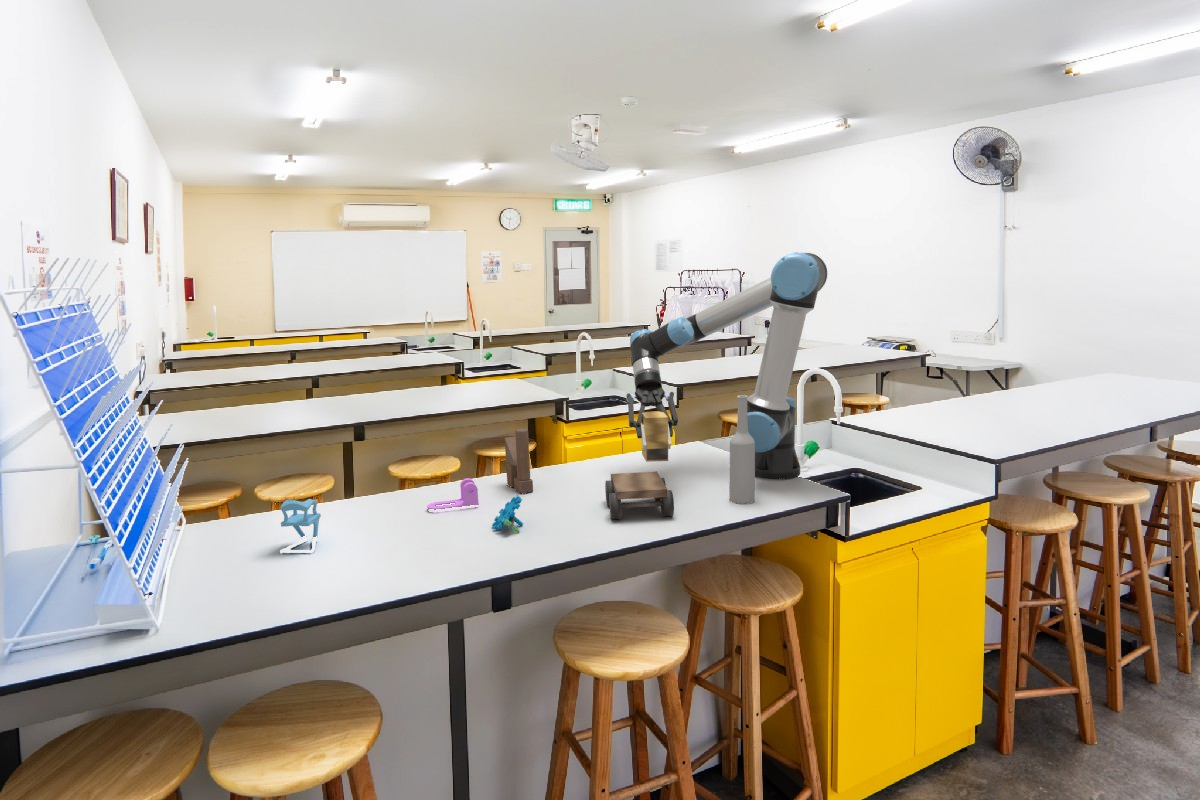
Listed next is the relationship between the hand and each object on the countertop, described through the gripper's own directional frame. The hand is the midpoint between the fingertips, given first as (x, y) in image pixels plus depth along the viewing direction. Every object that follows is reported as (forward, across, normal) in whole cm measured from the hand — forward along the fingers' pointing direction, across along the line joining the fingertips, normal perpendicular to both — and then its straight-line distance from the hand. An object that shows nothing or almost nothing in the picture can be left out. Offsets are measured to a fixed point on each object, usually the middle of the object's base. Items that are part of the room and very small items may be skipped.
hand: (656, 446), depth 197 cm
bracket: (+10, +55, -10) cm, 57 cm away
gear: (+23, +40, +3) cm, 46 cm away
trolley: (+17, +7, -2) cm, 18 cm away
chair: (+27, +87, +6) cm, 91 cm away
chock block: (0, 0, -5) cm, 5 cm away
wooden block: (0, +38, -20) cm, 43 cm away
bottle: (+15, -21, -5) cm, 26 cm away
